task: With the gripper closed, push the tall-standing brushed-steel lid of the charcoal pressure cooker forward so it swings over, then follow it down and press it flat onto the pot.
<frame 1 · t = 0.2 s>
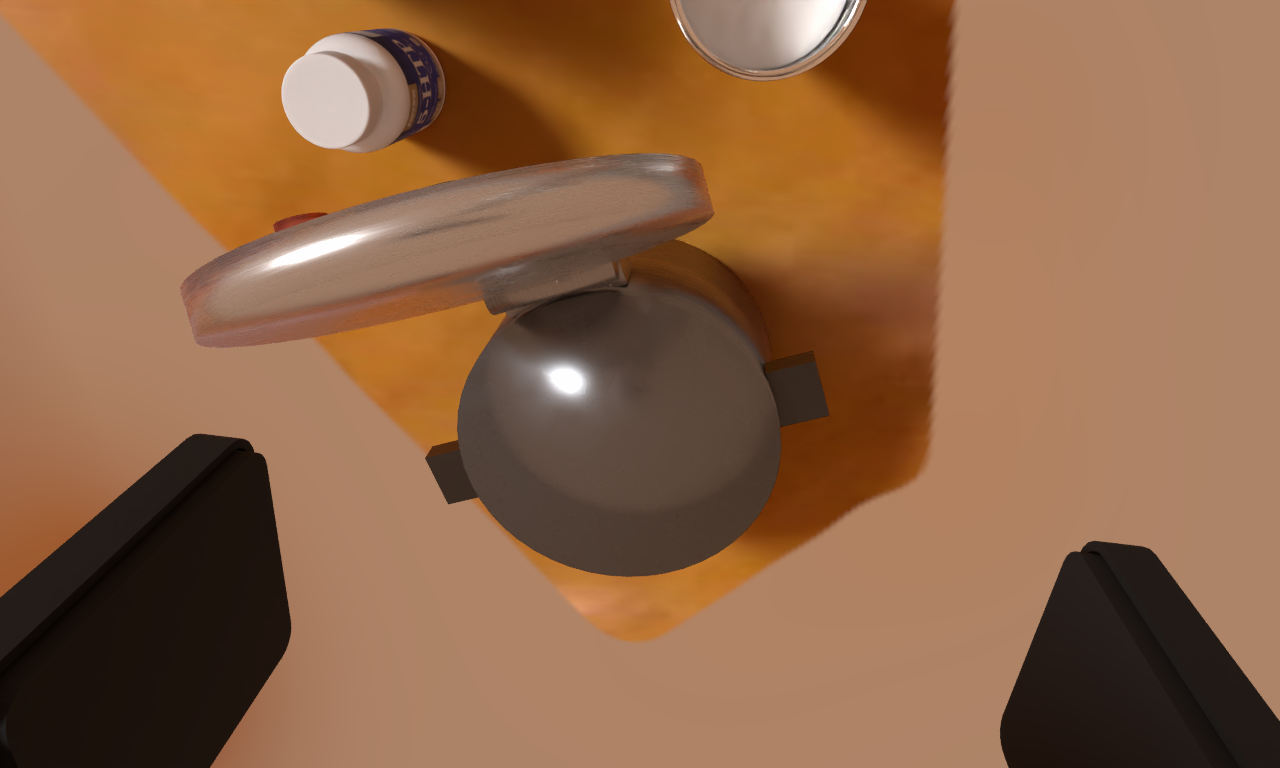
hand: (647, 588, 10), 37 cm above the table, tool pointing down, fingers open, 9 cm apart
lid: (468, 248, 28), point 18 cm above the table, hinge at 110.0°
cooker pot: (636, 362, 49), on the table
pill bottle: (400, 80, 43), on the table
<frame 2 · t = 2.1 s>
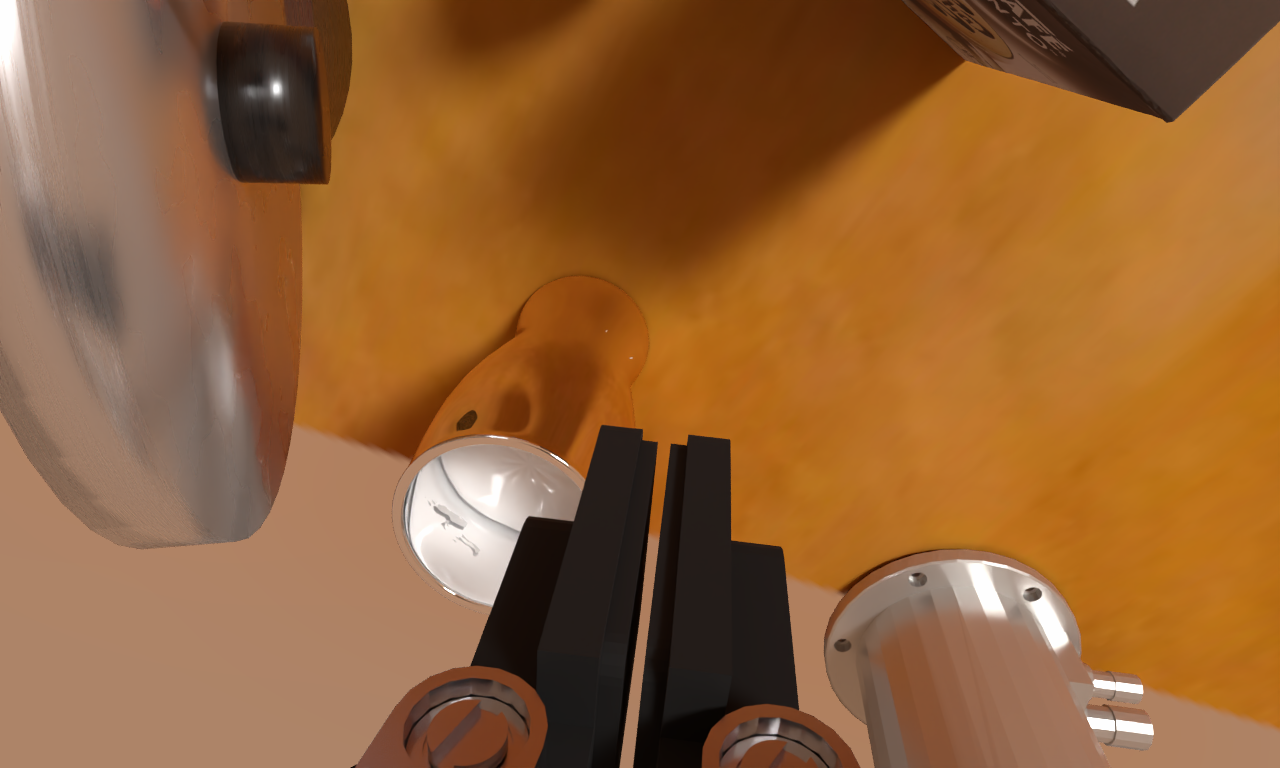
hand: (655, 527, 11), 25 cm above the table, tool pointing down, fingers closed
lid: (225, 99, 16), point 18 cm above the table, hinge at 110.0°
beer glass: (584, 336, 38), on the table
cooker pot: (160, 16, 33), on the table
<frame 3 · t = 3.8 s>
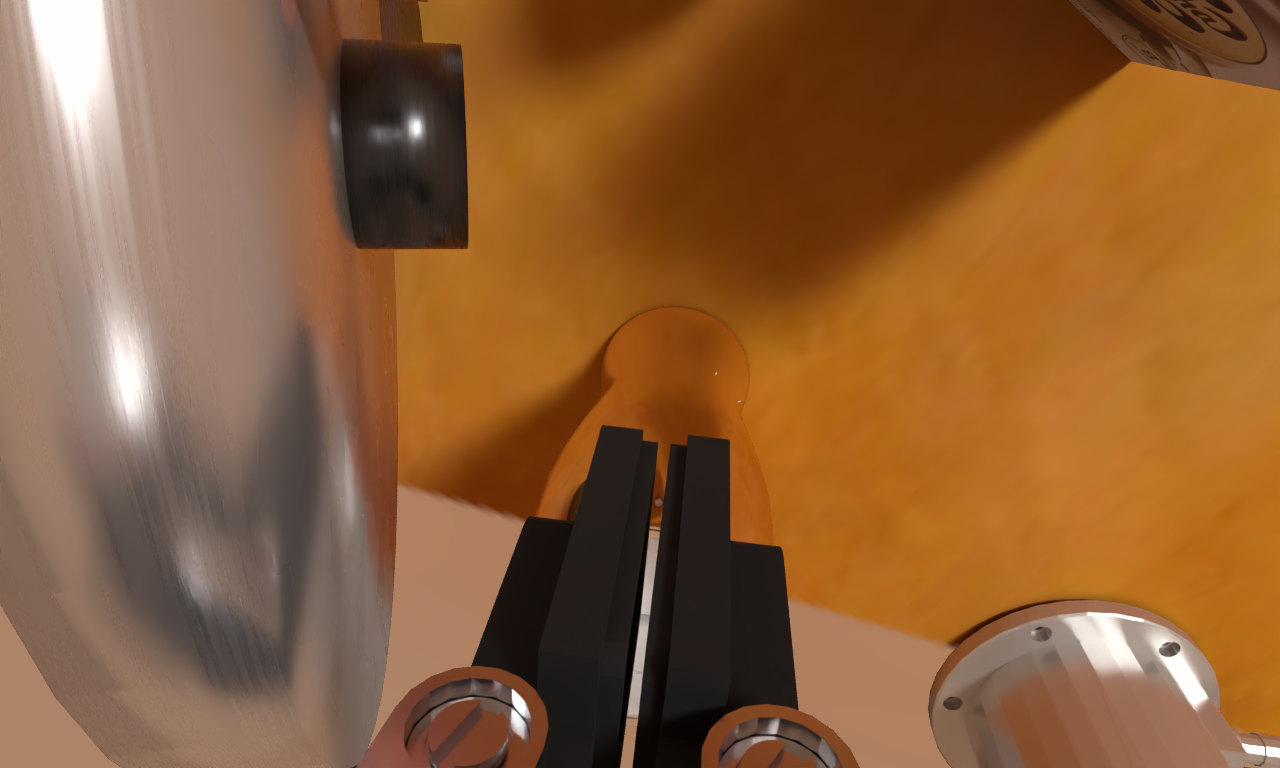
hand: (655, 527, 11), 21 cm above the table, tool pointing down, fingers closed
lid: (337, 139, 13), point 18 cm above the table, hinge at 108.3°, touching gripper
beer glass: (675, 372, 34), on the table
cooker pot: (205, 23, 29), on the table
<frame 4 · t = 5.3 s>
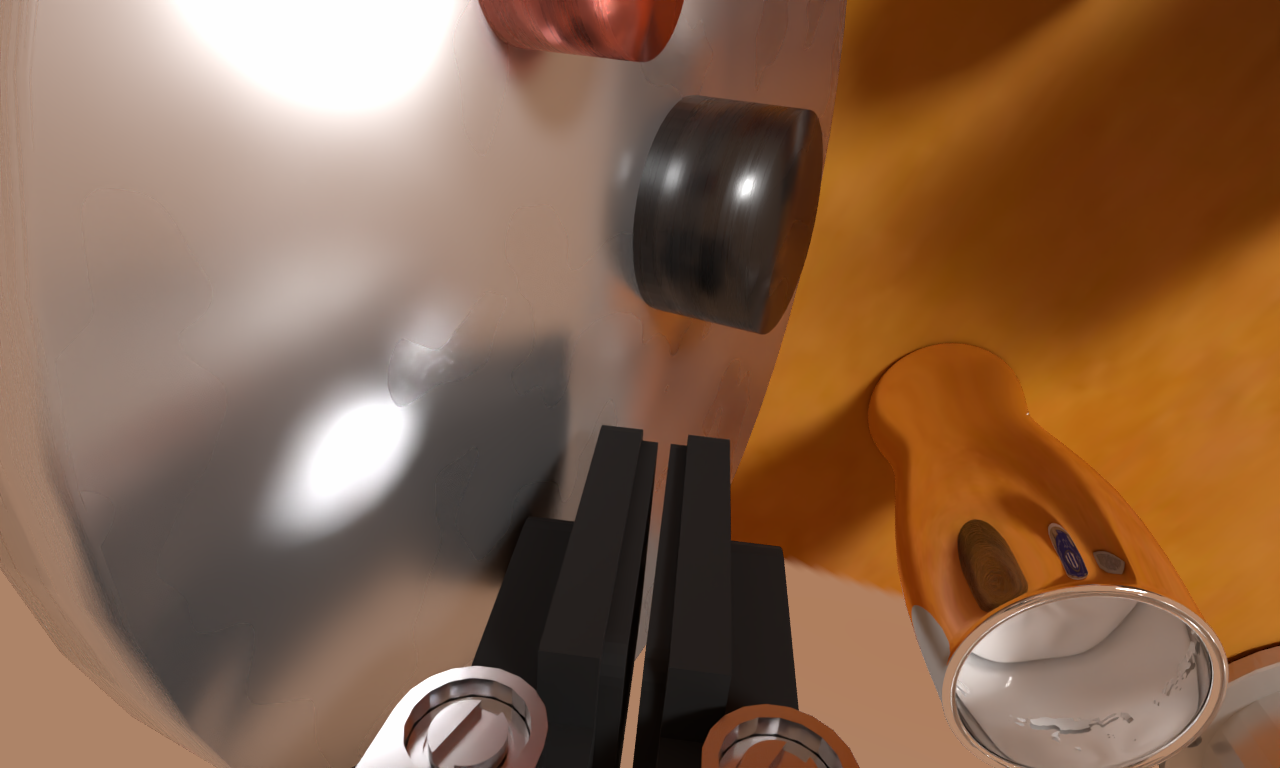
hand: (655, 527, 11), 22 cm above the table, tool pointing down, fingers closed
lid: (678, 195, 12), point 19 cm above the table, hinge at 70.0°, touching gripper
beer glass: (942, 407, 33), on the table
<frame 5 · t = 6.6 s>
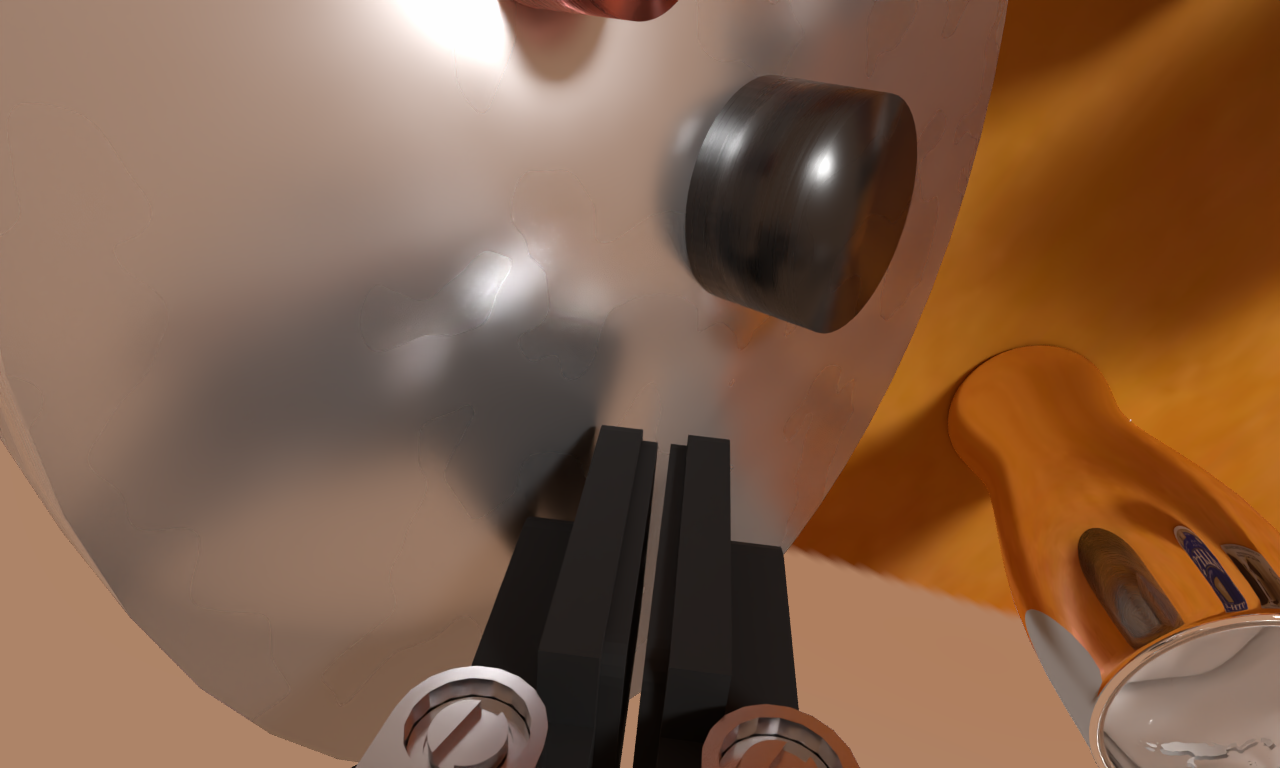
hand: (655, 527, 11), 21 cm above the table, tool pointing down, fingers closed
lid: (759, 181, 12), point 18 cm above the table, hinge at 54.3°, touching gripper
beer glass: (1024, 411, 32), on the table
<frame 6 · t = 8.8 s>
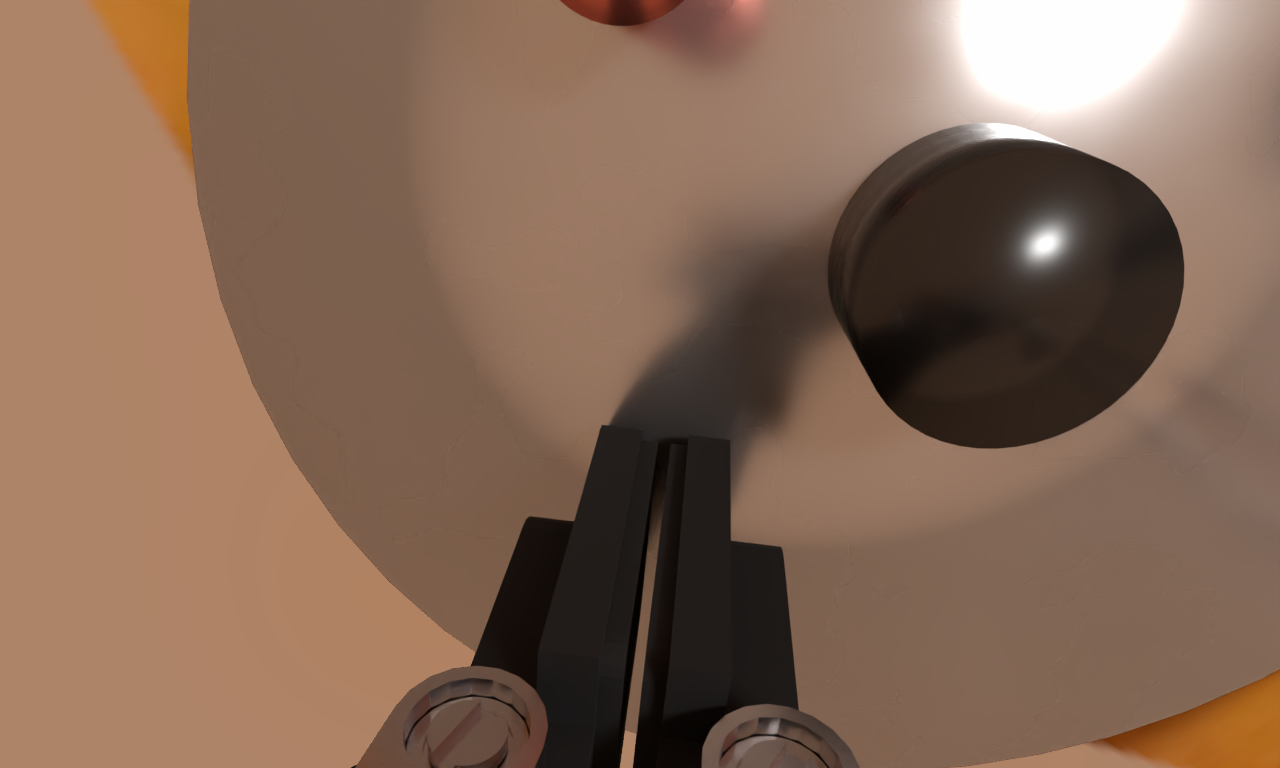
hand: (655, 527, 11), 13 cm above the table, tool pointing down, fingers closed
lid: (1003, 256, 9), point 12 cm above the table, hinge at 5.2°, touching gripper
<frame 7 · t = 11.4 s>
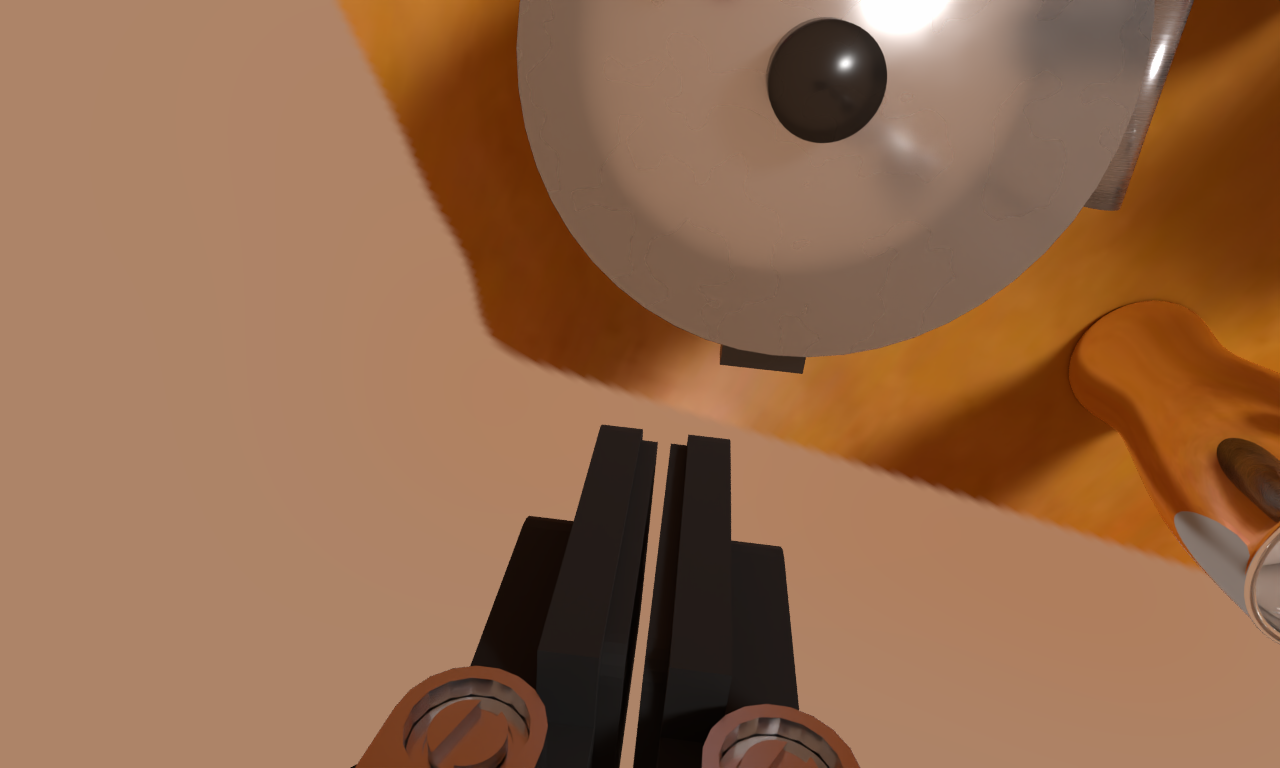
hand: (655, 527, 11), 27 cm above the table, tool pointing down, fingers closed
lid: (841, 77, 23), point 11 cm above the table, hinge at -0.1°
beer glass: (1135, 359, 38), on the table
cooker pot: (789, 44, 33), on the table
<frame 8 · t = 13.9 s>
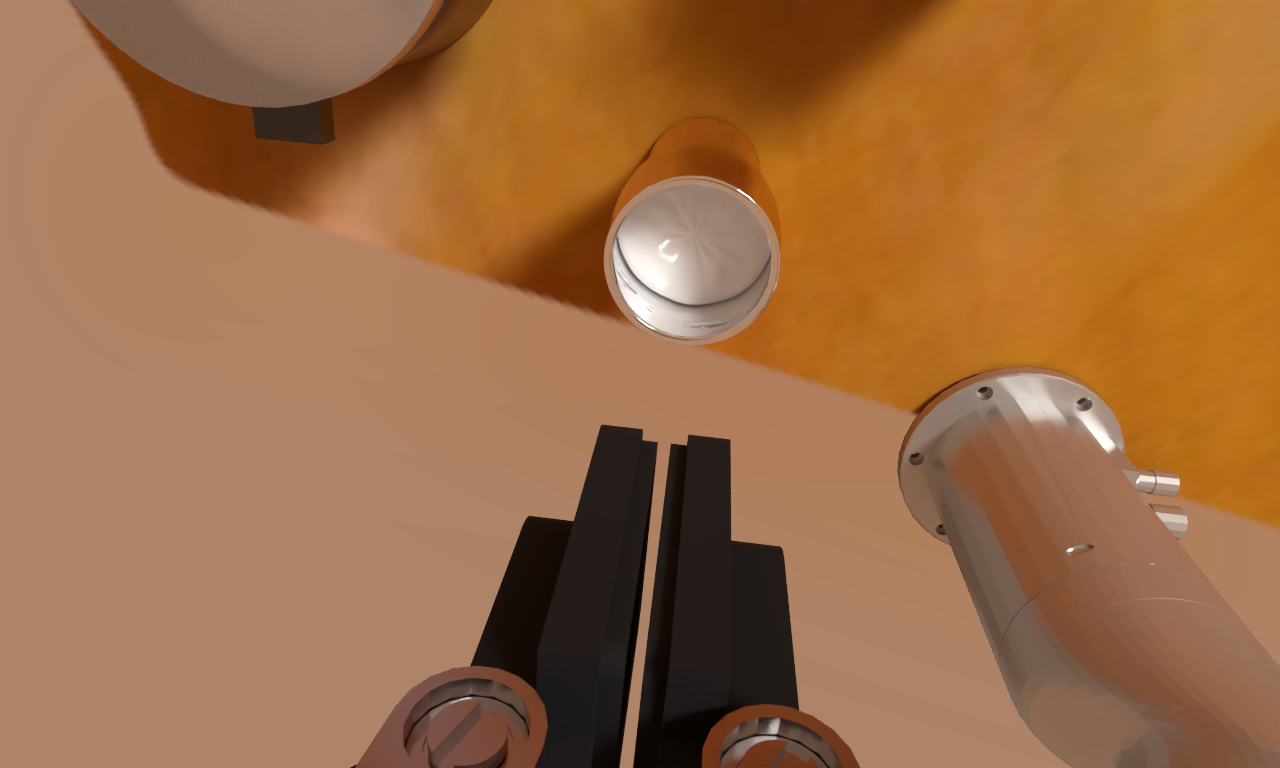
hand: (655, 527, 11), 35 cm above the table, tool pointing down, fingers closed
beer glass: (702, 175, 44), on the table
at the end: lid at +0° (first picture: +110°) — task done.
